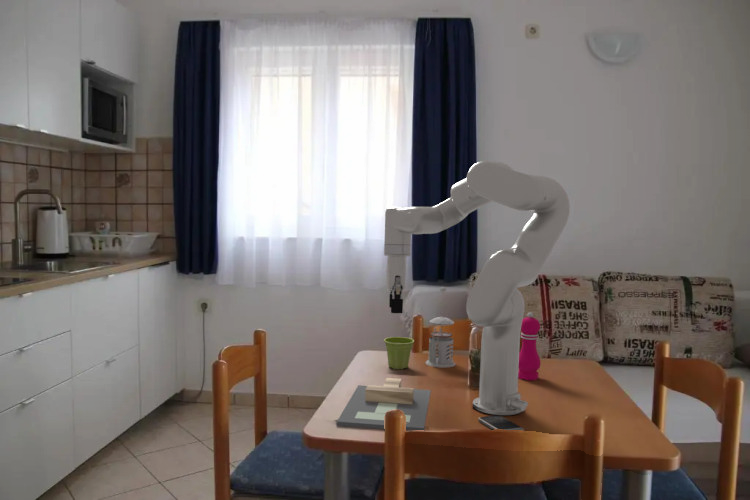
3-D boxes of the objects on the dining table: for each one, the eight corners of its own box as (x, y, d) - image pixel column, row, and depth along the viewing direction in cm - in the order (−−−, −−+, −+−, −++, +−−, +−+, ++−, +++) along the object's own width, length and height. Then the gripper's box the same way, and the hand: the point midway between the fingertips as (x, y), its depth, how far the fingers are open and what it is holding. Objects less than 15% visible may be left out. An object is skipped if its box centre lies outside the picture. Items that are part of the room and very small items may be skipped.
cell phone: (498, 420, 154) (498, 414, 154) (525, 435, 144) (526, 429, 144) (476, 422, 152) (476, 416, 152) (502, 438, 142) (503, 432, 142)
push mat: (358, 388, 175) (358, 385, 175) (430, 393, 173) (430, 390, 173) (336, 425, 146) (336, 421, 146) (423, 432, 143) (424, 427, 143)
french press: (459, 362, 209) (461, 286, 207) (449, 370, 198) (452, 290, 197) (430, 358, 213) (433, 284, 211) (419, 366, 202) (422, 288, 200)
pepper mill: (542, 377, 193) (545, 311, 192) (535, 382, 187) (539, 315, 186) (519, 373, 197) (522, 309, 196) (512, 378, 191) (515, 312, 189)
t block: (371, 387, 173) (372, 376, 173) (415, 390, 172) (416, 379, 172) (365, 401, 161) (365, 389, 161) (412, 404, 160) (412, 392, 160)
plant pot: (413, 371, 196) (414, 343, 195) (383, 370, 196) (384, 342, 195) (412, 363, 205) (413, 337, 204) (383, 363, 205) (384, 336, 204)
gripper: (383, 248, 189) (381, 305, 190) (385, 252, 172) (383, 315, 173) (408, 248, 189) (406, 305, 190) (413, 253, 172) (411, 315, 173)
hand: (395, 310), depth 181 cm, fingers open, 9 cm apart
